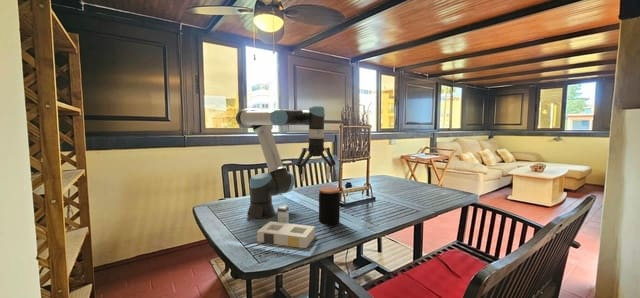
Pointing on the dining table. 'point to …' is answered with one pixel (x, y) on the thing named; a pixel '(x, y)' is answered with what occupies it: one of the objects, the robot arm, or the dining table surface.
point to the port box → (286, 234)
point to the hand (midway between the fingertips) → (315, 179)
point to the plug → (283, 214)
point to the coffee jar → (329, 205)
